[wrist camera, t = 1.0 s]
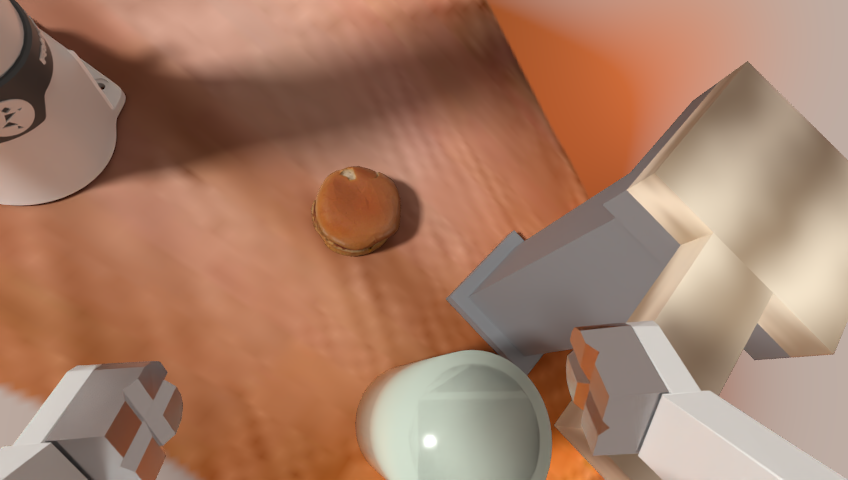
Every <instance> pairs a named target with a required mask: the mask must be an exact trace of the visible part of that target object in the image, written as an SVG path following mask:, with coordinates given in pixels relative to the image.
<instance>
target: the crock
mask: <svg viewBox="0 0 848 480" xmlns="http://www.w3.org/2000/svg"><path fill="white" fill-rule="evenodd" d="M355 425H356V436H357V441H358V444H359V447H360V450H361V452H362V454H363V456H364V457H365V459H366V460H367V462H368V463H369V464H370V465H371V466H372V467H373V468H374V469H375V470H376V471H377V472H378V473H379V474H380V475H382V476H383V477H384V478H385V479H386V480H546V477H547V474H548V470H549V466H550V461H551V453H552V433H551V426H550V420H549V417H548V413H547V410H546V407H545V404H544V402H543V399H542V397H541V396H540V394H539V392H538V390H537V388H536V387H535V385H534V384H533V382H532V381H531V380H530V379H529V378H528V376H527V375H526V374H525V373H524V372H523V371H522V370H521V369H520V368H518V367H517V366H516V365H514V364H513V363H512V362H510V361H509V360H507V359H505V358H503V357H501V356H499V355H496V354H493V353H490V352H486V351H479V350H465V351H459V352H454V353H450V354H446V355H442V356H438V357H434V358H430V359H426V360H422V361H418V362H414V363H410V364H406V365H402V366H398V367H395V368H392V369H389V370H387V371H385V372H384V373H382V374H381V375H379V376H378V377H377V378H376V379H375V380H373V381H372V383H371V384H370V385H369V386H368V387H367V389H366V390H365V392H364V394H363V396H362V398H361V400H360V403H359V405H358V409H357V413H356V422H355Z"/></svg>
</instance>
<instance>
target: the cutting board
mask: <svg viewBox="0 0 848 480" xmlns="http://www.w3.org/2000/svg"><path fill="white" fill-rule="evenodd" d="M627 191H628V192H629V193H630V194H631V195H632V196H633V197H634V198H635V199H636V200H637V201H638V202H639V203H640V204H641V205H642V206H643V207H644V208H645V209H646V210H647V211H648V212H649V213H650V214H651V215H652V216H653V217H654V218H655V219H656V220H657V221H658V222H659V223H660V224H661V225H662V227H663V228H664V229H665V230H666V231H667V232H668V233H669V234H670V235H671V236H672V237H673V238H674V239H675V240H676V241H677V242H678V243H679V244H680V247H679V248H678V250H677V251H676V252H675V254H674V255H673V257H672V258H671V260H670V261H669V262H668V264H667V265H666V267H665V268H664V269H663V271H662V272H661V274H660V275H659V277H658V278H657V279H656V281H655V282H654V284H653V285H652V287H651V288H650V289H649V291H648V292H647V294H646V295H645V296H644V298H643V299H642V301H641V302H640V304H639V305H638V306H637V308H636V309H635V311H634V312H633V314H632V315H631V316H630V318H629V319H628V321H627V322H626V323H628V322H640V321H652V320H653V321H654V322H656V323H657V324H658V325H659V327H660V328H661V330H662V331H663V333H664V334H665V336H666V337H667V339H668V340H669V342H670V343H671V345H672V347H673V348H674V350H675V351H676V353H677V354H678V356H679V357H680V359H681V360H682V362H683V363H684V365H685V366H686V368H687V370H688V371H689V373H690V374H691V376H692V377H693V379H694V380H695V382H696V383H697V385H698V386H699V388H700V389H701V391H708V390H710V391H711V392H713V393H715V394H716V395H718V396H719V394H720V392H721V391H722V389H723V387H724V385H725V383H726V381H727V379H728V377H729V375H730V373H731V372H732V370H733V368H734V366H735V364H736V362H737V360H738V358H739V357H740V355H741V353H742V350H743V349H744V347H745V345H746V343H747V342H748V340H749V338H750V336H751V334H752V332H753V330H754V328H755V326H756V325H757V323H758V324H759V325H760V326H761V327H762V328H763V329H764V330H765V331H766V332H767V333H768V334H769V335H770V336H771V337H772V338H773V340H774V341H775V342H776V343H777V344H778V345H779V346H780V347H781V348H782V349H783V350H784V351H785V352H786V353H787V354H788V355H789V356H790V357H804V356H816V355H817V356H818V355H831V354H834V353H835V350H836V348H837V345H838V343H839V340H840V338H841V335H842V333H843V331H844V328H845V326H846V323H847V321H848V160H847V159H846V158H845V157H844V156H843V155H842V154H841V153H840V152H839V151H838V150H837V149H836V148H835V147H834V146H833V145H832V144H831V143H830V142H829V141H828V140H827V139H826V138H825V137H824V136H823V135H822V134H821V133H820V132H819V131H818V130H817V129H816V128H815V127H814V126H813V125H812V124H811V123H810V122H809V121H807V120H806V118H805V117H803V115H802V114H800V113H799V112H798V111H797V110H796V109H795V108H794V107H793V106H792V105H791V104H790V103H789V102H788V101H787V100H786V99H785V98H784V97H783V96H782V95H781V94H780V93H779V92H778V91H777V90H776V89H775V88H774V87H773V86H772V85H771V84H770V83H769V82H768V81H767V80H766V79H765V78H764V77H763V76H762V75H761V74H760V73H759V72H758V71H757V70H756V69H755V68H754V67H753V66H752V65H751V64H750V63H749V62H748V61H747V62H746V63H744V64H743V65H742V66H740V67H739V68H738V69H736V70H735V71H733V72H732V73H731V74H729V75H728V76H727V77H725V78H724V79H722V80H721V81H720V82H718V83H717V85H716V86H715V87H714V88H713V89H712V90H711V92H710V93H709V94H708V95H707V96H706V97H705V99H704V100H703V101H702V102H701V103H700V105H699V106H698V107H697V108H696V109H695V110H694V112H693V113H692V114H691V115H690V116H689V117H688V119H687V120H686V121H685V122H684V123H683V124H682V126H681V127H680V128H679V129H678V130H677V132H676V133H675V134H674V135H673V136H672V137H671V139H670V140H669V141H668V142H667V143H666V144H665V146H664V147H663V148H662V149H661V150H660V151H659V153H658V154H657V155H656V156H655V157H654V158H653V160H652V161H651V162H650V163H649V164H648V166H647V167H646V168H645V169H644V170H643V171H642V173H641V174H640V175H639V176H638V177H637V178H636V180H635V181H634V182H633V183H632V184H631V185H630V187H629V188H628V189H627ZM582 415H583V410H582V409H580V408H579V407H578V406H577V405H576V404H574V403H573V400H571V402H570V403H569V404H568V406H567V407H566V409H565V410H564V412H563V413H562V414H561V416H560V417H559V419H558V420H557V422H556V423H555V424H554V426H555V427H556V428H557V429H558V430H559V431H560V432H561V433H562V435H563V436H564V437H565V438H566V439H567V440H568V441H569V442H570V443H571V444H572V445H573V446H574V447H575V448H576V449H577V450H578V451H579V452H580V454H581V455H582V456H583V457H584V458H585V459H586V460H587V461H588V462H589V463H590V464H591V465H592V466H593V467H594V468H595V469H596V470H597V472H598V473H599V474H600V475H601V476H602V477H603V478H604V479H605V480H662V479H661V478H660V477H659V476H658V475H657V474H656V473H655V472H654V471H653V470H652V469H651V468H650V467H649V466H648V465H647V464H646V463H645V462H644V461H643V460H642V459H641V458H640V457H639V456H638V455H639V454H619V455H600V456H593V455H592V453H591V450H590V447H589V444H588V442H587V439H586V436H585V434H584V431H583V428H582V426H581V419H582Z"/></svg>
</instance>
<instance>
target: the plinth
mask: <svg viewBox="0 0 848 480" xmlns="http://www.w3.org/2000/svg"><path fill="white" fill-rule="evenodd" d="M716 85H717V84H715V85H714V86H713V87H711V88H710V89H709V90H707V91H706V92H704V93H703V94H702V95H700V96H699V97H697V98H696V99H695V100H693V101H692V102H691V104H690V105H689V106H688V107H687V108H686V109H685V111H684V112H683V113H682V114H681V115H680V116H679V117H678V118H677V120H676V121H675V122H674V123H673V124H672V125H671V127H670V128H669V129H668V130H667V131H666V132H665V133H664V135H663V136H662V137H661V138H660V139H659V140H658V141H657V143H656V144H655V145H654V146H653V148H651V149H650V151H649V152H648V153H647V154H646V155H645V156H644V157H643V159H642V160H641V161H640V162H639V163H638V164H637V166H636V167H635V168H634V169H633V170H632V172H631V173H629V174H628V175H626V176H625V177H623V178H621V179H620V180H618V181H617V182H615V183H614V184H612V185H611V186H609V187H608V188H606V189H604V190H603V191H601V192H600V193H598V194H597V195H595V196H594V197H592V198H591V199H589V200H587V201H586V202H584V203H583V204H581V205H580V206H578V207H577V208H575V209H573V210H572V211H570V212H569V213H567V214H566V215H564V216H563V217H561V218H560V219H558V220H556V221H555V222H553V223H552V224H550V225H549V226H547V227H546V228H544V229H543V230H541V231H539V232H538V233H536V234H535V235H533V236H532V237H530V238H529V239H527V240H526V241H524V240H523V239H522V238H521V237H520V236H519V235H518V234H517V233H516V232H515V231H513V232H511V233H510V234H508V236H507V237H506V238H505V239H504V240H503V241H502V242H501V243H500V244H499V245H498V246H497V247H496V248H495V249H494V250H493V251H492V252H491V253H490V254H489V255H488V256H487V257H486V258H485V259H484V260H483V261H482V262H481V263H480V264H479V265H478V266H477V267H476V268H475V269H474V270H473V272H472V273H471V274H470V275H469V276H468V277H467V278H466V279H465V280H464V281H463V282H462V283H461V284H460V285H459V286H458V287H457V288H456V289H455V290H454V291H453V292H452V293H451V294H450V295H449V296H448V297H447V298H446V300H447V301H448V302H449V303H450V304H451V305H452V306H453V307H454V308H455V309H456V310H457V311H458V313H459V314H460V315H461V316H462V317H463V318H464V319H465V320H466V321H467V322H468V323H469V324H470V325H471V326H472V327H473V328H474V329H475V330H476V332H477V333H478V334H479V335H480V336H481V337H482V338H483V339H484V340H485V341H486V342H487V343H488V344H489V345H490V346H491V347H492V348H493V349H494V351H495V352H496V353H497V354H498V355H499V356H501V357H503V358H505V359H507V360H509V361H510V362H512V363H513V364H514V365H516V366H517V367H518V368H520V369H521V370H522V371H523V372H524V373H525V374H526V375H528V373H529V372H530V371H531V370H532V368H533V367H534V366H535V364H536V363H537V362H538V361H539V359H540V358H541V357H542V356H543V354H544V353H550V352H557V351H563V350H569V349H573V347H572V344H571V342H570V338H571V333H572V330H573V329H574V327H581V326H591V325H602V324H613V323H626V322H627V321H628V319H629V318H630V316H631V315H632V314H633V312H634V311H635V309H636V308H637V306H638V305H639V304H640V302H641V301H642V299H643V298H644V296H645V295H646V294H647V292H648V291H649V289H650V288H651V287H652V285H653V284H654V282H655V281H656V279H657V278H658V277H659V275H660V274H661V272H662V271H663V269H664V268H665V267H666V265H667V264H668V262H669V261H670V260H671V258H672V257H673V255H674V254H675V252H676V251H677V250H678V248H679V247H680V244H679V243H678V242H677V241H676V240H675V239H674V238H673V237H672V236H671V235H670V234H669V233H668V232H667V231H666V230H665V229H664V228H663V227H662V225H661V224H660V223H659V222H658V221H657V220H656V219H655V218H654V217H653V216H652V215H651V214H650V213H649V212H648V211H647V210H646V209H645V208H644V207H643V206H642V205H641V204H640V203H639V202H638V201H637V200H636V199H635V198H634V197H633V196H632V195H631V194H630V193H629V192H628V191H627V189H628V188H629V187H630V185H631V184H632V183H633V182H634V181H635V180H636V178H637V177H638V176H639V175H640V174H641V173H642V171H643V170H644V169H645V168H646V167H647V166H648V164H649V163H650V162H651V161H652V160H653V158H654V157H655V156H656V155H657V154H658V153H659V151H660V150H661V149H662V148H663V147H664V146H665V144H666V143H667V142H668V141H669V140H670V139H671V137H672V136H673V135H674V134H675V133H676V132H677V130H678V129H679V128H680V127H681V126H682V124H683V123H684V122H685V121H686V120H687V119H688V117H689V116H690V115H691V114H692V113H693V112H694V110H695V109H696V108H697V107H698V106H699V105H700V103H701V102H702V101H703V100H704V99H705V97H706V96H707V95H708V94H709V93H710V92H711V90H712V89H713V88H714V87H715V86H716ZM744 350H745V351H746V352H747V353H748V354H749V355H750V356H751V357H752V358H753V359H754V360H762V359H776V358H789V357H790V356H789V355H788V354H787V353H786V352H785V351H784V350H783V349H782V348H781V347H780V346H779V345H778V344H777V343H776V342H775V341H774V340H773V338H772V337H771V336H770V335H769V334H768V333H767V332H766V331H765V330H764V329H763V328H762V327H761V326H760V325H759V324H758V323H757V325H756V326H755V328H754V330H753V332H752V334H751V336H750V338H749V340H748V342H747V343H746V345H745V347H744Z"/></svg>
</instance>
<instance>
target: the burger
mask: <svg viewBox="0 0 848 480" xmlns="http://www.w3.org/2000/svg"><path fill="white" fill-rule="evenodd" d="M311 210H312V221H313V225H314V227H315V229H316V231H317V232H318V233H319V235H320V236H321V238H322V239H323V240H324V242H325V244H326V245H327V247H328V248H330V249H331V250H332V251H334V252H337V253H339V254H342V255H347V256H359V255H365V254H368V253H371V252H373V251H374V250H376V249H377V248H379V247H380V246H382V245H383V244H384V243H385V241H386V240H387V238H388V237H390V236H392V235H393V234H395V233H396V231H397V229H398V227H399V223H400V212H401V204H400V197H399V193H398V190H397V188H396V186H395V184H394V183H393V181H392V180H391V179H389V178H388V177H387V176H385V175H384V174H382V173H380V172H378V173H377V172H375V171H373V170H370V169H367V168H363V167H360V166H355V167H348V168H345V169H342V170H338V171H335V172H333V173H332V174H330V175H329V176H328V177H327V178H326V179H325V180H324V182H323V183H322V185H321V187H320V189H319V191H318V194H317V197H316V200H315V201H314V203H313V205H312V208H311Z"/></svg>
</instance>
